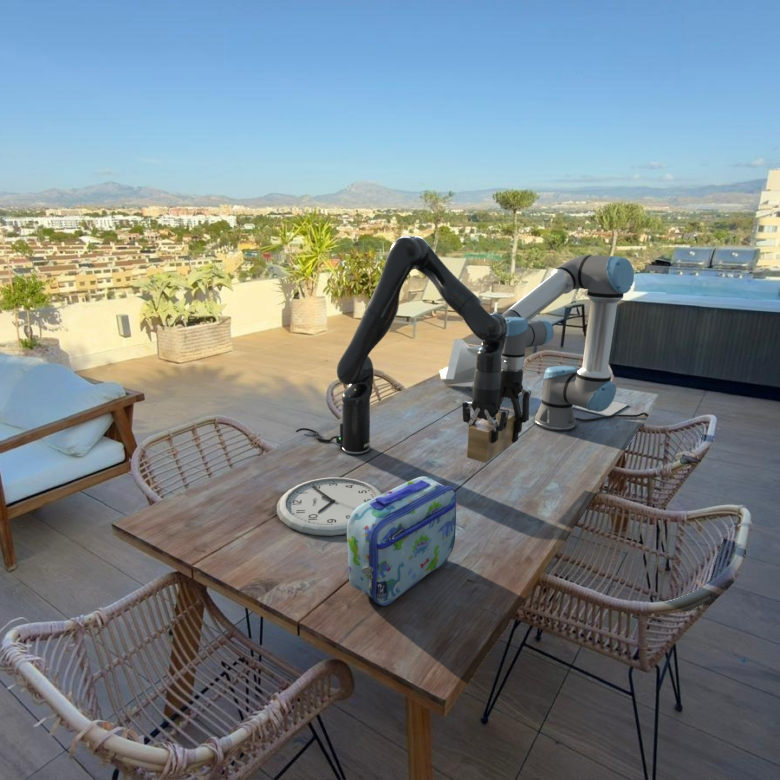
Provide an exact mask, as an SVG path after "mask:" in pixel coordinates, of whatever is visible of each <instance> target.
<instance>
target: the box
mask: <svg viewBox="0 0 780 780" xmlns="http://www.w3.org/2000/svg"><path fill="white" fill-rule="evenodd" d="M500 409H502V410H509V415H508V420H507V425H506V428H505V429H504V430H502V431H499V435H498V440H497V441H496V442H495V443H494V444H493V443H491V435H492V431H493V430H492V427H491V425H490V424H489V422H488V420H485V419H479V420H478V421H476V423H475V424H474V425H472V426H470V427H469V426H468V432H469V433H468V434H467V435H468V436H467V453H466V458H468V459H471V460H474V461H478V462H481V463H485V464H486V463H488V462H489V461H491V460H492V459H493V458H495V457H496V456H497V455H499V454H500V453H501V452H503V451H504V450H505V449H507V448H508V447H509V446H511V445H512V444H514V443H513V442H512V438H513V427H514V422H516V418H515V413H514V409H513V408H508V407H503V406H502V407H500ZM496 415H497V418H498V423H500V418H501V417H500V416H499V413H497V414H496ZM492 420H493V418H492Z"/></svg>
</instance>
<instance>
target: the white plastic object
mask: <svg viewBox="0 0 780 780" xmlns="http://www.w3.org/2000/svg"><path fill="white" fill-rule="evenodd" d="M492 313H497V311H496V310H495V311H492ZM480 347H481V344H479V345H473V346H469V345H468V343H466V342H465V340H464V339H463V338H460V339H458V338H454V340H453V344H452V349H451V353H450V357H449V362H448V366H446V367H444V368H442V369H440V370H439V371H438V372H439V376H440V381H442V383H443V384H444V385H445V386H449V385H458V384H467V383H468V384H469V383H474V375H475V369H476V357H477V352H478V350H479V349H480ZM522 386H523V389H525V390H527V391H528V390H529V388H528V387H529V386H528V384H527V381H526V378H525V375H524V374H523V379H522Z"/></svg>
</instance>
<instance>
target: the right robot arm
mask: <svg viewBox="0 0 780 780" xmlns="http://www.w3.org/2000/svg"><path fill="white" fill-rule="evenodd" d="M634 278H635V272H634V267H633V264H632V263H631V261H630V260H629V259H628V258H627V257H621V256H615V255H595V254H594V255H593V254H584V255H583V254H582V255H579V256H576V257H573V258H571V259H569V260H567V261H565V262H563V263H562V264H560V265H558V266H557V267H556V268H555V269H553V270H552V271H551V272H550V274H549V277H547V278H546V279H545V280H544V281H542V282H541V283H540V284H538V286H536V287H535V288H533V289H532V290H531V291H529V293H527V294H526V295H525V296H524V297H522V298H521V299H520V300H518V301H517V302H516V303H515V304H513V305H512V306H511V307H510V308H508V309H507V310H506V311H504V312H503V313H502V314H501V315H502V316H503V317H504V318H505V320H506V322H507V335H506V340H505V344H504V348H503V352H502V363H501V386H500V398H499V407H500V408H501V406H502V404H503V402H504V399H505V398H507V399H509V400H510V402H511V404H512V409H513V410H514V413H515V418H516V422H514V427H513V438H512V442H513V443H512V444H515V443H516V442H518V441H519V434H520V433H521V432H522V431H523V423H524V424H525V423H526V422H528V421H529V420H530V397H531V394H532V391H531V390H530V389H528V391H527V390H525V389H523V386H522V379H523V375H524V370H523V369H524V367H525V357H526V356H525V355H526V349H527V348H531V347H538V346H539V347H540V346H543V345H546V344H549V343H550V342H551V341H552V340H553V338H554V335H555V330H554V327H553V325H552V324H551V323H550V321H548V320H540V319H539V320H533V319H534V318H535V317H537V316H538V315H539V314H541V312H543V311H544V310H545V309H547V308H548V307H549V306H550V305H551V304H553V303H554V302H555V301H556V300H558V299H559V298H560V297H561V296H563V295H565V294H570V293H571V292H572V291H574V290H577V289H579V290H580V289H583V290H587V294H586V296H587V298H588V299H589V300H590V304H589V311H588V312H589V313H588V320H587V328H586V333H585V342H584V349H583V357H582V365H581V367H580V368H579V369H578V368H577V367H576V366H571V365H570V366H569V365H557V366H556V365H555V366H550V367H547V368H546V369H545V371H544V375H543V378H542V379H543V381H542V382H543V383H542V394H541V402H540V405H539V407H538V410H537V411H536V412H535V417H534V424H535V425H536V426H537V427H539V428H542V429H544V430H549V431H556V432H567V431H572V430H574V429H575V428H576V421H579V422H591V421H592V422H593V421H599V420H604V419H609V418H610V419H611V418H637V417H641V416H645V417H649V414H648V413H647V412H640V413H638V414H613V415H609V416H604V415H603V416H599V417H598V416H597V417H593V418H592V417H591V418H580V417H576V416H575V413H574V407H573V406H575V407H576V406H579V407H582V408H585V409H588V410H592V411H596V412H601V411H604V410H605V409H607V408H608V407H609V405H610V404H611V403H612V401H614V400H615V398H616V397H615V396H616V394H617V386H616V385H617V384H615V383H614V381H611V379H612V374H611V372H610V371H609V363H610V355H611V349H612V344H613V343H612V342H613V336H614V330H615V329H614V328H615V322H616V315H617V309H618V303H619V302H620V301H621V300H623V298H624V294H627V293H628V292H630V290H631V289H632V286H633V284H634V280H635V279H634ZM520 394H521V397H522V398H521V399H522V401H521V403H522V404H521V403H520Z"/></svg>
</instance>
